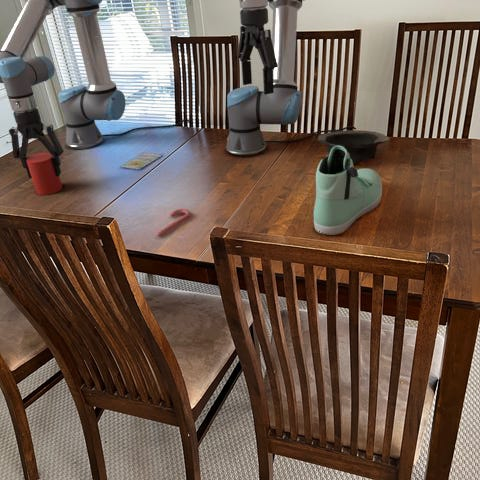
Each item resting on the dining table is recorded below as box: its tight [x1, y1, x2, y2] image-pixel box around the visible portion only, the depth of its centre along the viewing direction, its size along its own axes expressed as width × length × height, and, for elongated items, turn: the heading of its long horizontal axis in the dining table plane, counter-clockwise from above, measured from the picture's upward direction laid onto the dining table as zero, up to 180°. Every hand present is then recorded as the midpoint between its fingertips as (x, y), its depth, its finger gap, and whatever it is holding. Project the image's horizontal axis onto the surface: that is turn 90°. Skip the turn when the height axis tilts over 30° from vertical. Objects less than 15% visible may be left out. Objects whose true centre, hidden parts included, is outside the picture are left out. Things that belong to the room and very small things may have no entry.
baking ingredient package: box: [119, 152, 162, 170], centre depth 182 cm, size 9×1×15 cm
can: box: [26, 152, 63, 196], centre depth 163 cm, size 9×9×12 cm
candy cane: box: [156, 208, 192, 238], centre depth 138 cm, size 6×15×2 cm, turn 145°
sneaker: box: [313, 146, 383, 236], centre depth 133 cm, size 14×35×20 cm, turn 152°
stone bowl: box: [316, 129, 390, 165], centre depth 170 cm, size 25×25×9 cm
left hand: (45, 175), depth 163 cm, fingers closed on can, 9 cm apart
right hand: (257, 88), depth 140 cm, fingers open, 13 cm apart
